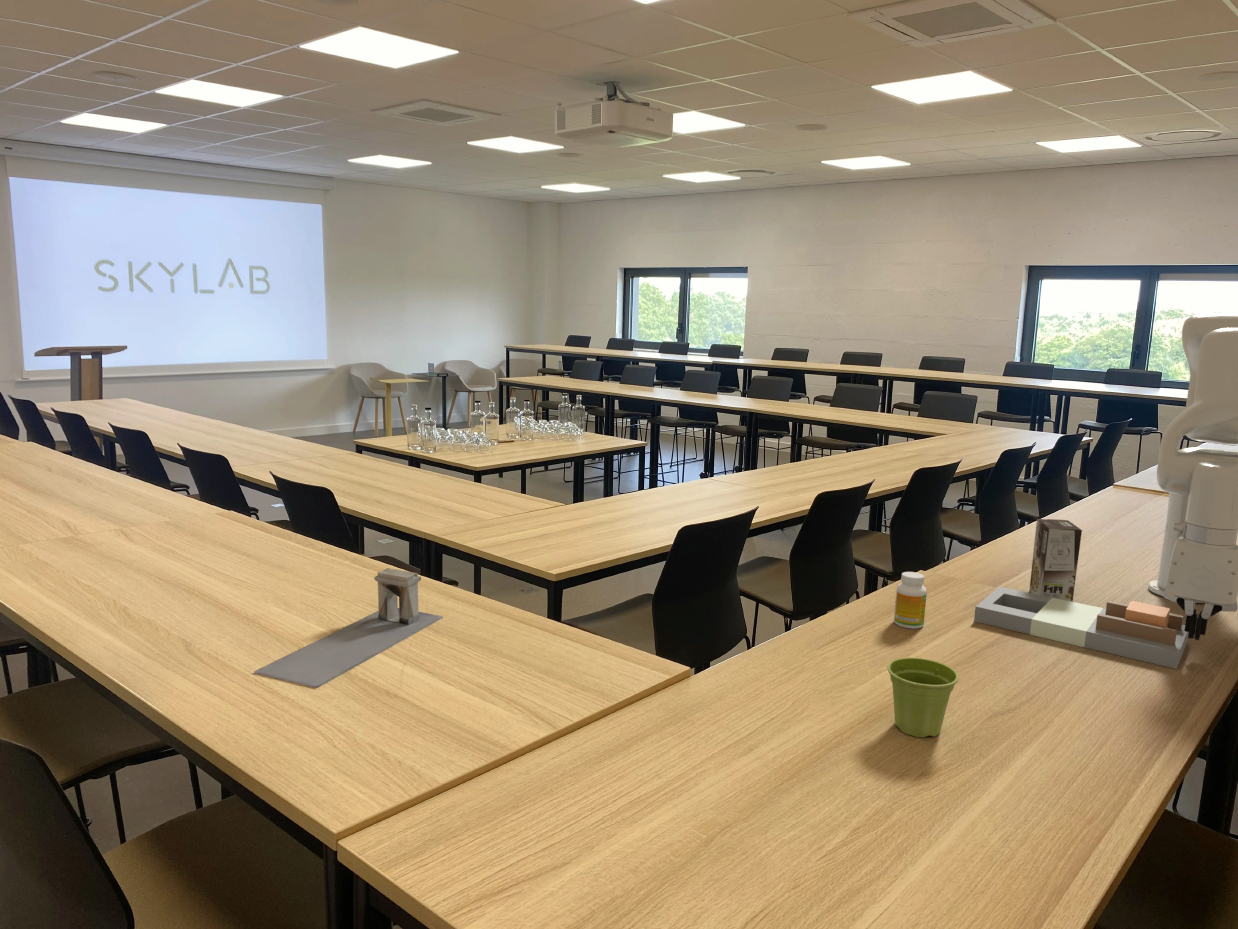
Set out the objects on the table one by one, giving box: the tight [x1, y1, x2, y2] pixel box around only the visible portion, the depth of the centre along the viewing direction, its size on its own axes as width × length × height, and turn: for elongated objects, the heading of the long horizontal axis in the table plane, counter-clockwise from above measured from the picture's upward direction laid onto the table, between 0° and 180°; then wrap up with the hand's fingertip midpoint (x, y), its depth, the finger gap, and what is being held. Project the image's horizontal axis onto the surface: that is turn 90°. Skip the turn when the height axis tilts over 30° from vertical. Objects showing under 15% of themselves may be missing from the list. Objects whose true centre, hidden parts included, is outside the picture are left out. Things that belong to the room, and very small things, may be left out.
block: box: [1125, 600, 1171, 628], centre depth 153 cm, size 6×6×4 cm
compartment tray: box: [973, 586, 1189, 670], centre depth 160 cm, size 16×33×6 cm, turn 51°
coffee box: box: [1028, 518, 1083, 602], centre depth 178 cm, size 9×6×16 cm
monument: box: [253, 567, 444, 689], centre depth 146 cm, size 12×33×10 cm, turn 157°
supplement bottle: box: [893, 571, 928, 630], centre depth 161 cm, size 5×5×10 cm
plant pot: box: [886, 656, 960, 738], centre depth 121 cm, size 9×9×9 cm
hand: (1194, 636), depth 149 cm, fingers closed
